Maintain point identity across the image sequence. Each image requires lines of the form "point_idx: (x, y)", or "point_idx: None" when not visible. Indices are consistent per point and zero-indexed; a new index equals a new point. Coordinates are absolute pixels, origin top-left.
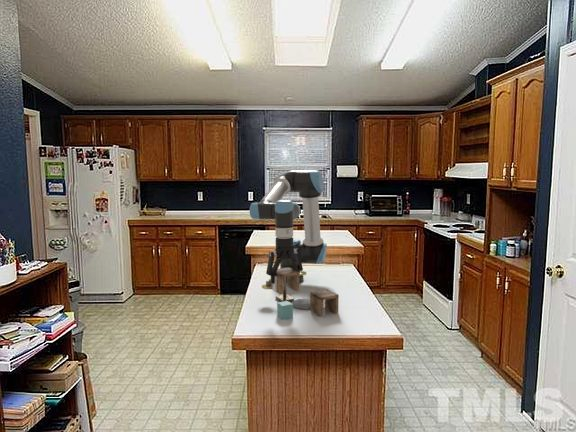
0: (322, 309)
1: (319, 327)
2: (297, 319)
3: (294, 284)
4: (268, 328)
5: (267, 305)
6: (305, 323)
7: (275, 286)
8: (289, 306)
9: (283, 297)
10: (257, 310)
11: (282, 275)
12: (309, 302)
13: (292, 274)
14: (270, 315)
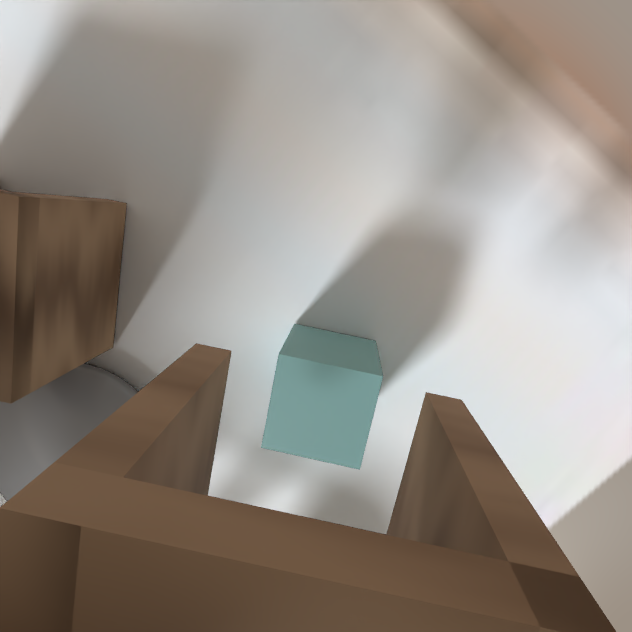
0: (81, 198)
1: (262, 53)
2: (286, 283)
3: (197, 446)
4: (551, 284)
5: None
6: (291, 185)
7: None
8: (314, 355)
9: None
10: None
11: (532, 599)
12: (39, 440)
13: (230, 524)
14: (380, 456)
